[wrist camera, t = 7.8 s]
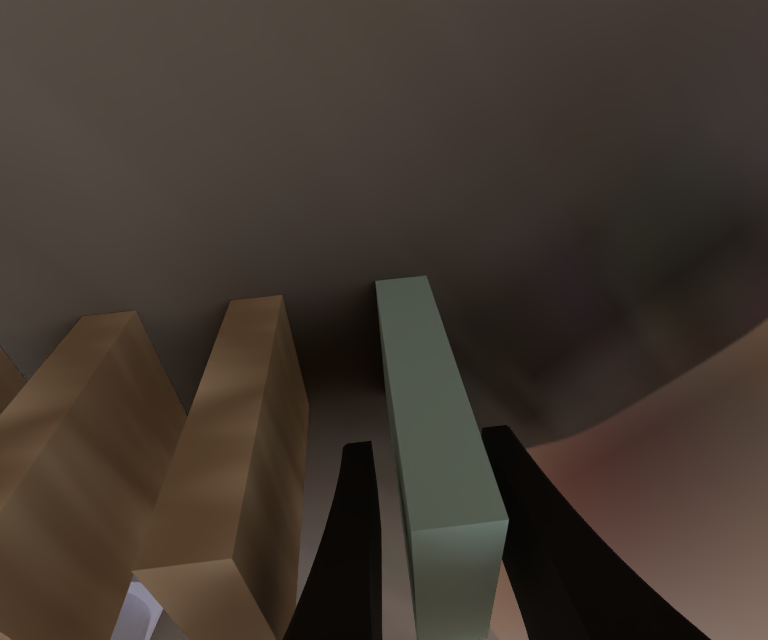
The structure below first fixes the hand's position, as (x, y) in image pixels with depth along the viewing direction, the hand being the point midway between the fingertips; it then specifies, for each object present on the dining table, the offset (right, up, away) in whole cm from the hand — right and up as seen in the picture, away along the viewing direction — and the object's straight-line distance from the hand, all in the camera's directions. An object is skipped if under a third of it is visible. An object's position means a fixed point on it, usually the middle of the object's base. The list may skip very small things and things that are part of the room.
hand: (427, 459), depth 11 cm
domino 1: (-9, +2, +4) cm, 10 cm away
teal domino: (0, +3, +4) cm, 5 cm away
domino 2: (-5, +2, +4) cm, 7 cm away
